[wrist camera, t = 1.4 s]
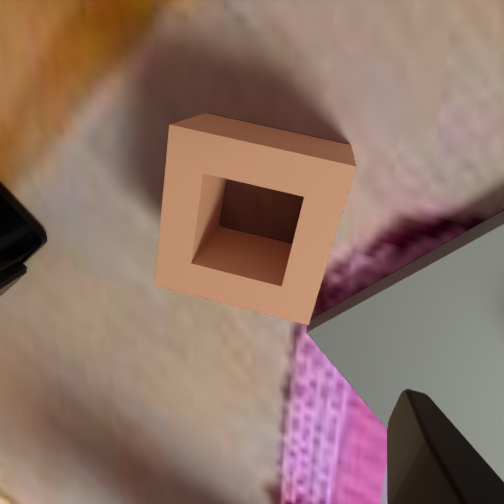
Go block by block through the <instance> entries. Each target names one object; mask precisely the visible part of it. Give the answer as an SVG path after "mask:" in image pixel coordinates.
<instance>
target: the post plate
mask: <svg viewBox="0 0 504 504" xmlns="http://www.w3.org/2000/svg"><path fill="white" fill-rule="evenodd" d="M306 333H307V334H308V335H309V336H310V337H311V339H312V340H313V341H314V342H315V343H316V345H317V346H318V347H319V348H320V349H321V351H322V352H323V353H324V354H325V355H326V357H327V358H328V359H329V360H330V361H331V363H332V364H333V365H334V366H335V367H336V369H337V370H338V371H339V372H340V373H341V375H342V376H343V377H344V378H345V379H346V380H347V382H348V383H349V384H350V385H351V386H352V388H353V389H354V390H355V391H356V392H357V394H358V395H359V396H360V397H361V398H362V400H363V401H364V402H365V403H366V404H367V406H368V407H369V408H370V409H371V410H372V412H373V413H374V414H375V415H376V416H377V418H378V419H379V420H380V421H381V422H382V424H383V425H384V426H385V427H386V428H387V427H388V421H389V418H390V416H391V414H392V411H393V409H394V407H395V405H396V403H397V401H398V398H399V396H400V394H401V392H402V391H403V390H405V389H411V390H415V391H418V392H422V393H425V394H427V395H428V396H429V397H430V398H431V399H432V400H433V402H434V403H435V404H436V405H437V406H438V407H439V408H440V410H441V411H442V412H443V413H444V414H445V415H446V416H447V418H448V419H449V420H450V421H451V422H452V423H453V424H454V426H455V427H456V428H457V429H458V430H459V431H460V432H461V434H462V435H463V436H464V437H465V438H466V439H467V440H468V442H469V443H470V444H471V445H472V446H473V447H474V448H475V449H476V451H477V452H478V453H479V454H480V455H481V456H482V457H483V459H484V460H485V461H486V462H487V463H488V464H489V465H490V467H491V468H492V469H493V470H494V471H495V472H496V473H497V475H498V476H499V477H500V478H501V479H502V480H503V481H504V210H503V211H501V212H500V213H498V214H496V215H494V216H493V217H491V218H489V219H487V220H485V221H484V222H482V223H480V224H478V225H477V226H475V227H473V228H471V229H470V230H468V231H466V232H464V233H462V234H461V235H459V236H457V237H455V238H454V239H452V240H450V241H448V242H446V243H445V244H443V245H441V246H439V247H438V248H436V249H434V250H432V251H430V252H429V253H427V254H425V255H423V256H422V257H420V258H418V259H416V260H415V261H413V262H411V263H409V264H407V265H406V266H404V267H402V268H400V269H399V270H397V271H395V272H393V273H391V274H390V275H388V276H386V277H384V278H383V279H381V280H379V281H377V282H375V283H374V284H372V285H370V286H368V287H367V288H365V289H363V290H361V291H360V292H358V293H356V294H354V295H352V296H351V297H349V298H347V299H345V300H344V301H342V302H340V303H338V304H336V305H335V306H333V307H331V308H329V309H328V310H326V311H324V312H322V313H320V314H319V315H317V316H315V317H313V318H312V319H310V323H309V325H307V332H306Z"/></svg>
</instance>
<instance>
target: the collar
mask: <svg viewBox="0 0 504 504" xmlns="http://www.w3.org/2000/svg"><path fill="white" fill-rule="evenodd" d="M355 168H356V164H355V160H354V155H353V151H352V146H351V145H348V144H344V143H339V142H335V141H330V140H326V139H321V138H317V137H312V136H307V135H303V134H298V133H294V132H289V131H285V130H280V129H276V128H271V127H267V126H262V125H257V124H253V123H248V122H244V121H239V120H235V119H230V118H226V117H221V116H217V115H212V114H207V113H204V114H201V115H198V116H194V117H191V118H188V119H185V120H182V121H179V122H176V123H172V124H169V134H168V145H167V155H166V166H165V177H164V188H163V199H162V210H161V221H160V231H159V242H158V253H157V264H156V275H155V285H157V286H160V287H164V288H168V289H172V290H176V291H180V292H183V293H187V294H191V295H195V296H199V297H202V298H206V299H210V300H214V301H218V302H221V303H225V304H229V305H233V306H237V307H240V308H244V309H248V310H252V311H256V312H259V313H263V314H267V315H271V316H275V317H279V318H282V319H286V320H290V321H294V322H298V323H301V324H305V325H309V323H310V319H311V316H312V312H313V309H314V306H315V302H316V299H317V296H318V292H319V289H320V286H321V282H322V279H323V276H324V272H325V269H326V265H327V262H328V259H329V255H330V252H331V249H332V245H333V242H334V239H335V235H336V232H337V229H338V225H339V222H340V218H341V215H342V212H343V208H344V205H345V202H346V198H347V195H348V192H349V188H350V185H351V182H352V178H353V175H354V171H355ZM227 179H230V180H234V181H239V182H243V183H247V184H251V185H256V186H260V187H264V188H268V189H273V190H277V191H281V192H286V193H290V194H294V195H298V196H303V197H304V199H303V203H302V207H301V211H300V215H299V219H298V223H297V227H296V231H295V235H294V239H293V243H292V244H290V243H286V242H282V241H278V240H274V239H270V238H266V237H262V236H257V235H253V234H249V233H245V232H241V231H237V230H233V229H229V228H225V227H221V226H219V223H220V217H221V211H222V205H223V198H224V192H225V186H226V180H227Z"/></svg>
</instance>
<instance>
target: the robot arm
mask: <svg viewBox="0 0 504 504" xmlns="http://www.w3.org/2000/svg"><path fill="white" fill-rule="evenodd" d="M33 235H34V236H36V238H37V240H36V239H35V238H34V237H33ZM46 242H47V236H46V234H45V232H44V231H43V230H42V229H41V228H40V227H39V226H38V224H37V223H36V222H35V221H34V220H33V219H32V218H31V217H30V216H29V215H28V214H27V213H26V212H25V211H24V210H23V209H22V208H21V207H20V206H19V205H18V204H17V202H16V201H15V200H14V199H13V198H12V197H11V196H10V195H9V194H8V193H7V192H6V191H5V190H4V189H3V188H2V187H1V186H0V296H1V295H3V294H4V293H5V292H6V291H7V290H8V289H9V288H10V287H11V286H12V285H13V284H15V283H16V282H17V281H18V280H19V279H20V278H21V277H22V276H23V275H24V274H25V273H26V272H27V267H26V266H25V265H24V263H26V262H27V261H28V260H29V259H30V258H31V257H32V256H33V255H34V254H35V253H36V252H37V251H38V250H39V249H40V248H41V247H43V246H44V245H45V244H46ZM387 498H388V499H387V500H388V504H504V481H503V480H502V479H501V478H500V477H499V476H498V475H497V473H496V472H495V471H494V470H493V469H492V468H491V467H490V465H489V464H488V463H487V462H486V461H485V460H484V459H483V457H482V456H481V455H480V454H479V453H478V452H477V451H476V449H475V448H474V447H473V446H472V445H471V444H470V443H469V442H468V440H467V439H466V438H465V437H464V436H463V435H462V434H461V432H460V431H459V430H458V429H457V428H456V427H455V426H454V424H453V423H452V422H451V421H450V420H449V419H448V418H447V416H446V415H445V414H444V413H443V412H442V411H441V410H440V408H439V407H438V406H437V405H436V404H435V403H434V402H433V400H432V399H431V398H430V397H429V396H428V395H427V394H425V393H422V392H418V391H415V390H411V389H405V390H403V391H402V392H401V394H400V396H399V398H398V401H397V403H396V405H395V407H394V409H393V411H392V414H391V416H390V418H389V421H388V427H387Z"/></svg>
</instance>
